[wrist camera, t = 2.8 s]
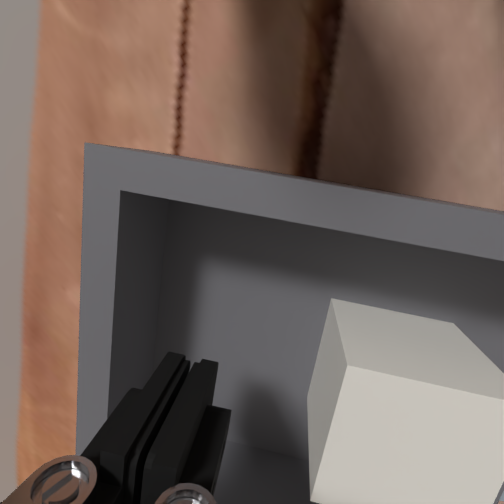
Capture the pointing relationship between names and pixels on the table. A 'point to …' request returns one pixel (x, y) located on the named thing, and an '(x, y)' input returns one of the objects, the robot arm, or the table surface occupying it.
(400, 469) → the cream block
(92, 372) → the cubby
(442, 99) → the table surface
